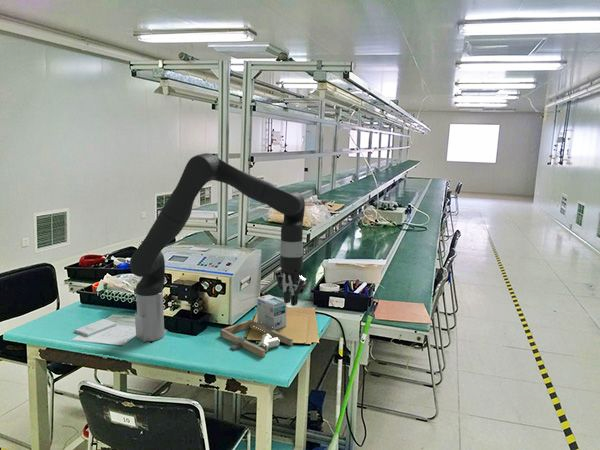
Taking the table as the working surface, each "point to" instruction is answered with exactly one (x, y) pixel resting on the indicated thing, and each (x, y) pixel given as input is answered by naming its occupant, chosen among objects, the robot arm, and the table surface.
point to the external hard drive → (96, 327)
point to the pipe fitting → (268, 342)
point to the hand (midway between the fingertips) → (290, 303)
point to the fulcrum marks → (236, 347)
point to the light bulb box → (271, 312)
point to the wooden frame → (247, 345)
